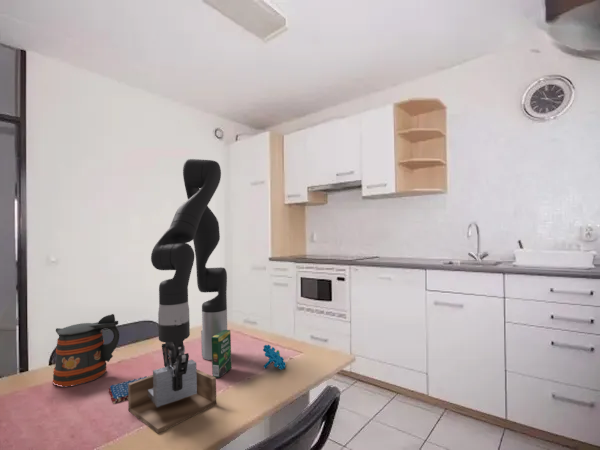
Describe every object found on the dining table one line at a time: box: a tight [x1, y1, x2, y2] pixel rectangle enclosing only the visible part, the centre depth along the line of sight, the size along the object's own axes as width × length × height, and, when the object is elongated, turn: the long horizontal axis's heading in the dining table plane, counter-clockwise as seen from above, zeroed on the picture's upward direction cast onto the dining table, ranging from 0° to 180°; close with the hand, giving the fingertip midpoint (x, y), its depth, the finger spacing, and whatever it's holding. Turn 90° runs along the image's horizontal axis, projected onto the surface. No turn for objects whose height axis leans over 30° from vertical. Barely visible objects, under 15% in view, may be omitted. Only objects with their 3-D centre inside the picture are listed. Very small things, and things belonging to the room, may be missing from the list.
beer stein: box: [52, 313, 120, 386], centre depth 106 cm, size 19×15×20 cm
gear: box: [262, 344, 286, 371], centre depth 109 cm, size 11×6×10 cm
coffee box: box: [211, 329, 233, 379], centre depth 105 cm, size 8×3×13 cm, turn 162°
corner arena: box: [127, 368, 217, 434], centre depth 85 cm, size 16×16×7 cm
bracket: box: [148, 359, 197, 407], centre depth 84 cm, size 10×8×8 cm
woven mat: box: [108, 376, 148, 404], centre depth 94 cm, size 10×11×2 cm
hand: (175, 387), depth 82 cm, fingers closed on bracket, 3 cm apart
